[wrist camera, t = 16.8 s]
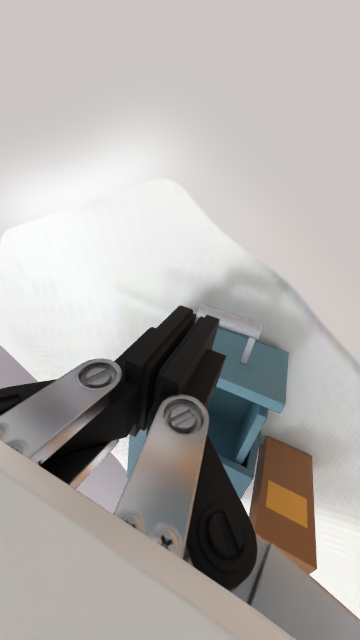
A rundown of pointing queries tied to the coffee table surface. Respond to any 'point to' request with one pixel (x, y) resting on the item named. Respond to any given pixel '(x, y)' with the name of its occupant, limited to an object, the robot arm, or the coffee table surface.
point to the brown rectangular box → (285, 502)
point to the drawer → (243, 385)
